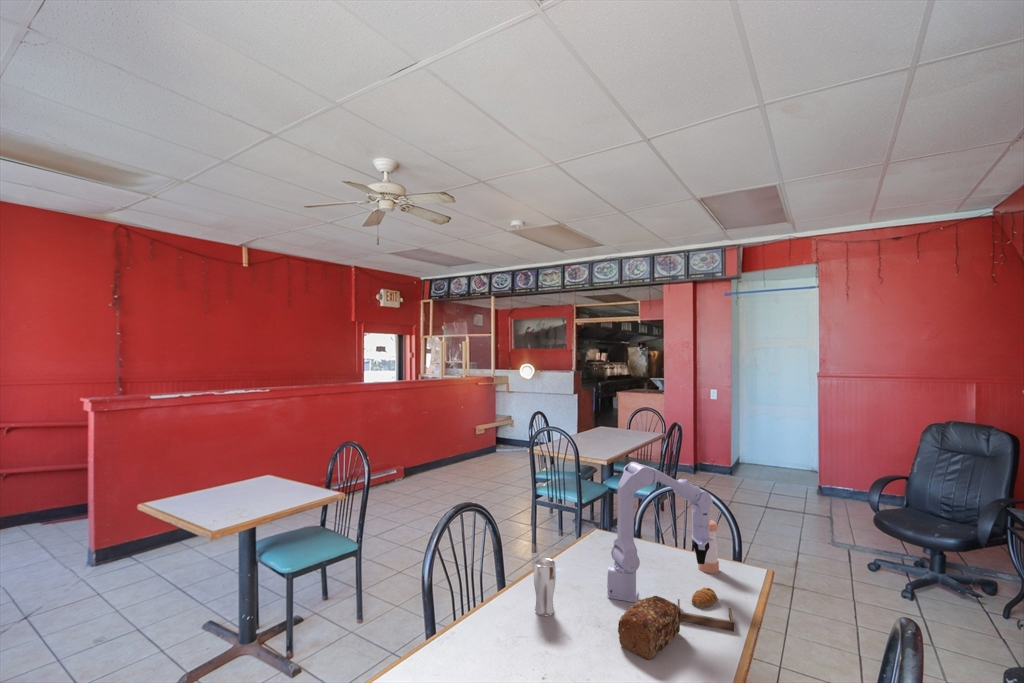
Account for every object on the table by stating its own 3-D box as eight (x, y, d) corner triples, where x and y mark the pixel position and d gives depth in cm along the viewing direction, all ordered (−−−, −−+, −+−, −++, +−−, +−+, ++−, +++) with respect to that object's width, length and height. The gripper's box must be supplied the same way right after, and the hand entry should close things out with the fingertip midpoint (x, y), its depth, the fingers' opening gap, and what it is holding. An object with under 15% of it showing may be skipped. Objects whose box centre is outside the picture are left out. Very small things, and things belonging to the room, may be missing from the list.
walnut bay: (677, 621, 141) (677, 612, 141) (677, 606, 150) (677, 598, 150) (734, 631, 136) (734, 622, 136) (730, 616, 144) (730, 607, 145)
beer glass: (558, 608, 148) (558, 560, 149) (551, 619, 142) (551, 568, 142) (538, 603, 151) (538, 556, 152) (529, 613, 145) (530, 564, 145)
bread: (651, 663, 121) (651, 624, 122) (615, 645, 129) (615, 609, 129) (682, 634, 134) (682, 599, 135) (649, 620, 142) (649, 586, 142)
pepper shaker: (715, 565, 181) (714, 515, 182) (721, 574, 173) (721, 522, 174) (695, 564, 181) (695, 514, 182) (701, 573, 174) (701, 521, 175)
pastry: (706, 612, 147) (705, 600, 147) (686, 604, 152) (685, 592, 152) (719, 602, 153) (719, 590, 153) (700, 595, 158) (700, 583, 158)
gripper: (714, 532, 155) (714, 573, 155) (711, 518, 169) (711, 556, 168) (691, 529, 158) (692, 570, 157) (690, 516, 171) (690, 554, 171)
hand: (700, 563), depth 163 cm, fingers closed
